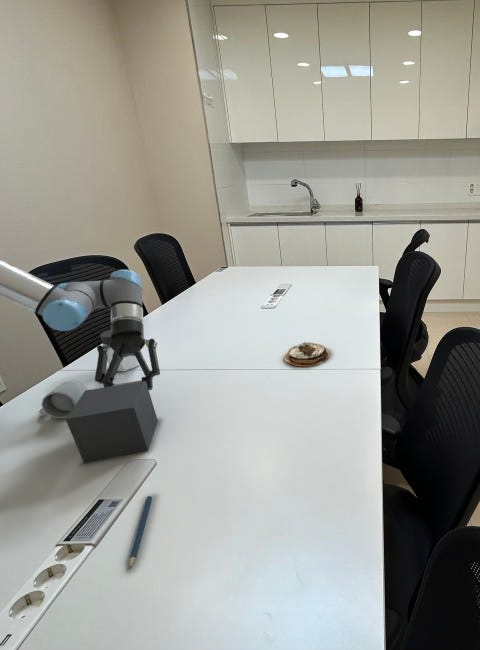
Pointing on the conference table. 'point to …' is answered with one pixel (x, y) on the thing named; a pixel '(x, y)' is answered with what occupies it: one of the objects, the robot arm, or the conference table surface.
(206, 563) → the conference table surface
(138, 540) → the pencil
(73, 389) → the ceramic mug
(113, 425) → the dark grey cube
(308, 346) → the layered cake
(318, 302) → the conference table surface
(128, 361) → the jar
